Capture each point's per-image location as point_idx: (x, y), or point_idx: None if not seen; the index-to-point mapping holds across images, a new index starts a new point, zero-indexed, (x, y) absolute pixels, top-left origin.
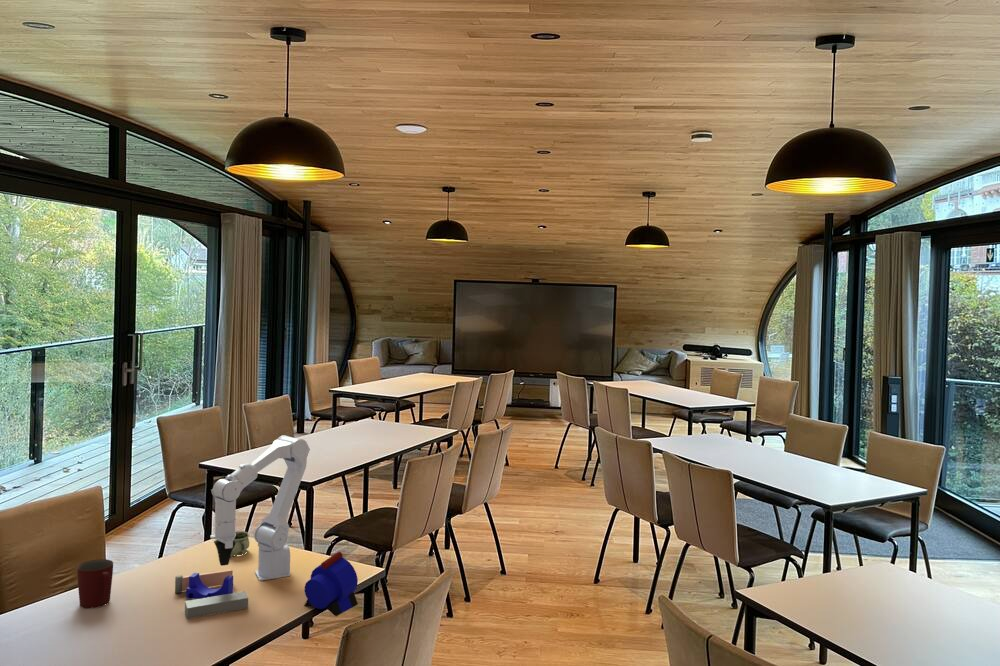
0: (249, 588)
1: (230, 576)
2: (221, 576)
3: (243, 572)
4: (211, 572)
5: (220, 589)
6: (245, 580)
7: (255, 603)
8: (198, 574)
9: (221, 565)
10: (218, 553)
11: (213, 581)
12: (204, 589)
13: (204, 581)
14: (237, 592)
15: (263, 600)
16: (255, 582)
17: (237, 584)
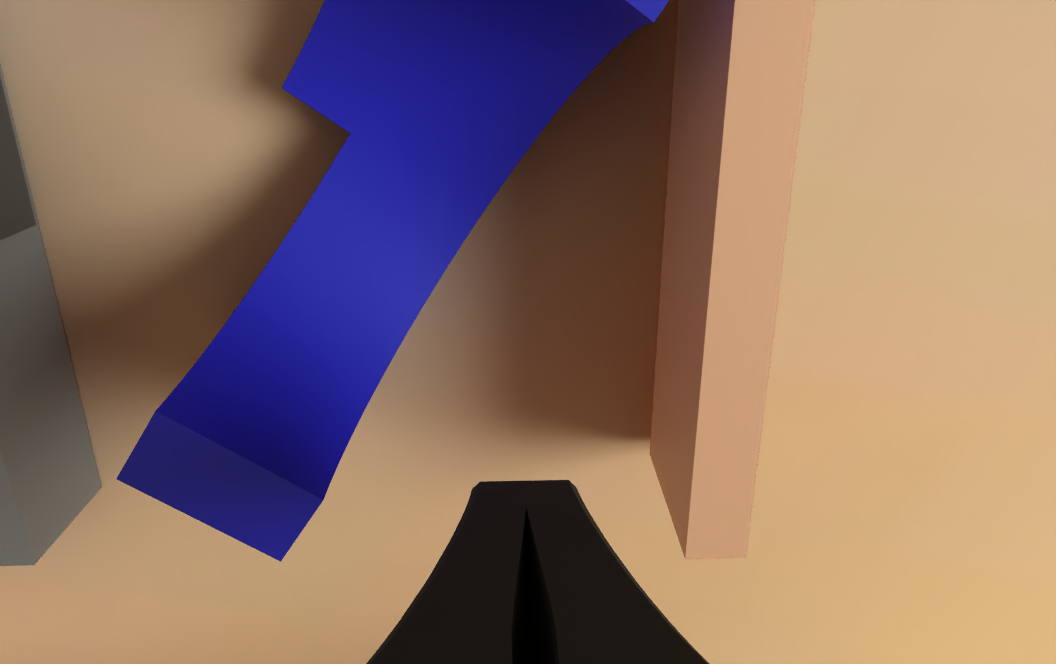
0: None
1: (249, 519)
2: (684, 381)
3: (947, 593)
4: (760, 267)
5: (247, 298)
6: (706, 578)
7: (20, 570)
8: (626, 5)
9: (475, 492)
10: (559, 635)
11: (679, 253)
12: (457, 89)
13: (694, 125)
14: (7, 484)
15: (83, 643)
16: None
17: (632, 492)
